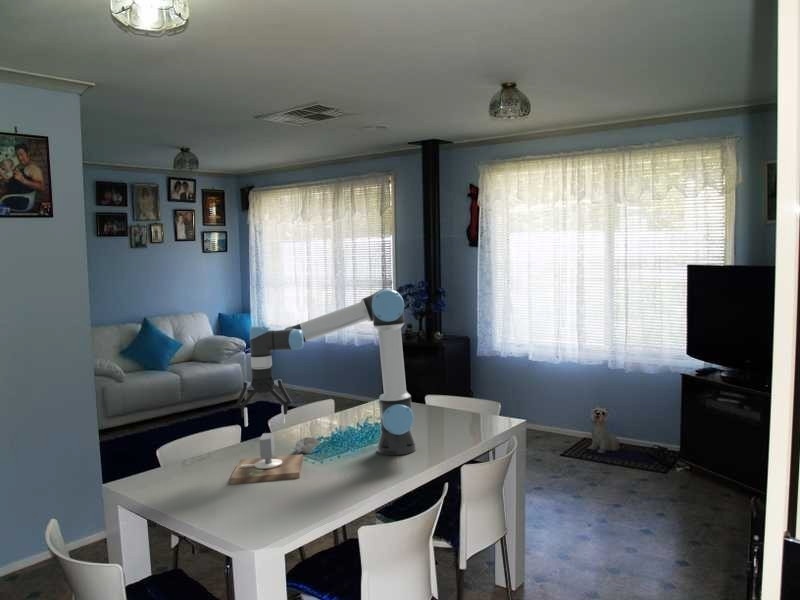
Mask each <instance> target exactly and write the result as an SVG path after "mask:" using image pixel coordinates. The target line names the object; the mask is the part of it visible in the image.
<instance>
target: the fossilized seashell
mask: <svg viewBox="0 0 800 600" xmlns="http://www.w3.org/2000/svg"><path fill="white" fill-rule="evenodd" d="M320 443H321V442H320V441H319V440H318V439H317V438H315V437H304V438H301V439H300V440H298V441H296V444H295V449H294V455H300V454H303V455H310V454H309V453H310V452H311V451H312V450H313V449H314V448H315V447H316V446H318V445H320Z"/></svg>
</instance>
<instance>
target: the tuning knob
mask: <svg viewBox="0 0 800 600" xmlns="http://www.w3.org/2000/svg"><path fill="white" fill-rule="evenodd" d="M274 435H275V434H274V432H264V433H262V435H261V437H260V438H259V451H260V453H259V455H260V458H261V459H265V460H262V461H259V462H257V463H255V464H247V465H241V467H248V466H255V467H256V468H259V469H268V468H274V467H278V466H280V465H281V464H282V460H279V459H272V457H274V454H275V451H276V450H275V449H276V448H275V447H276V446H275V436H274Z"/></svg>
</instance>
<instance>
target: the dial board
mask: <svg viewBox="0 0 800 600" xmlns="http://www.w3.org/2000/svg"><path fill="white" fill-rule="evenodd" d="M272 459H279V460H282V464H281V465H280V466H278V467H274V468H268V469H259V468H256V467H255V466H248V467H241V465H247V464H255V463H257V462H259V461H262V460H265V459H261V457H256V458H244V459H243V458H242V459H240V460H239V462H238V464H237V466H236V467H235V469H234V471H233V473H232V475H231V476H230V479H229V480H230V481H229V482H230V484H231V485H234V484H235V485H236V484H246V483H257V482H269V481H277V480H278V481H279V480H281V481H282V480H288V479H289V480H290V479H291V480H292V479H300V477H301V473H302V468H303V463H304V454H303V453H300V454H298V455H296V454H291V455H280V456H279V455H278V456H273V457H272Z"/></svg>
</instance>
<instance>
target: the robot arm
mask: <svg viewBox="0 0 800 600" xmlns="http://www.w3.org/2000/svg"><path fill="white" fill-rule="evenodd" d="M404 311H405V301H404V299H403V296H402V295H401V294H400V293H399V292H398V291H397V290H395V289H392V288H382V289H379V290H377V291H376V292H374V293H373V294H371V295H368V296H367V297H363V298H361V300H360V302H357V303H354V304H352V305H348V306H346V307H343V308H341V309H337V310H334V311H331V312H329V313H326V314H323V315H320V316H318V317H315V318H311V319H309V320H306V321H304V322H303V321H302V322H300V323H298V324H295V325H291V326H288V327H285V328H284V329H281V330H271V326H269V325H255V326H251V327H250V329H249V346H250V347H249V348H250V350H249V351H250V366H251V381H247V380H245V381H243V384H242V385H243V387H242V390H241V391H240V394H239V396H238V399H237V400H236V401H237V402H236V403H235V407H236V408H238V409H240V415H241V418H243V419H244V427H245V428H246V427H248V425H249V422H248V421H249V418H248V417H249V416H248V407H246V406H247V405H248V403H249V402H250V401H251V399H252V398H253V397H254V395H255V394H256V393H258V394H262V393H264V394H265V393H266V394H267V393H269V392H270V394H271V395H272V396H273V397H274V398H275V399H277V401H278V402H279V403H281V404H282V405H281V407H280V408H281V409H280V411H281V422H282V423H281V424H282V425H285V424H286V419H285V417H286V416H285V415H287V414H288V405H291V404H292V402H293V401H292V398H291V397H290V395H289V394H288V392H287V390H286V388H285V387H284V385H283V382H282V381H283V380H282V379H281V378H279V379H276V380H275V379H274V377H273V376H274V375H273V368H272V366H273V358H272V352H273V351H274V352H276V351H296V350H302V349H303V348H304V345H305V344H304V343H306V342H308V341H309V342H310V341H311V340H315V339H317V338H320V337H324V336H326V335H329V334H332V333H334V332H337V331H340V330H343V329H346V328H348V327H351V326H354V325H356V324H360V323H362V322H366V321H368V322H370V323H371V322H373V327H374V328H375V329H376V330H377V331H378V332H377V333H378V342H379V355H380V364H381V365H380V367H381V376H382V377H381V378H382V387H383V388H382V389H383V393H382V394H380V395H379V397H378V404H379V419H380V436H379V440H378V442H377V452H378V454H380V455H384V456H402V455H407V454H411V453H413V452H415V451H416V449H417V448H416V445H417V444H416V442H415V439H414V437H413V433H412V431H411V429H412V427H413V425H414V422H415V414H414V411H413V406H412V405H413V404H412V395H411V394H410V393H409V392H408V390H407V384H406V371H405V361H404V351H403V349H404V348H403V339H402V338H403V337H402V327H403V326H404V325H405V316H404V315H405V314H404ZM274 385H276V386H277V387H278V389H279V390H280V392H281V393H282V395H283V397H284V398H285V399H284V398H283V397H282V395H280V394H279V393H278V392H277V390H275V388H274ZM250 387H252V389H253V390H252V391H251V393H249V395H248V397H247V398H246V399H245V400H244V402H243V403H242V401H243V399H244V397H245V394H246V392H247V390H248V388H250Z"/></svg>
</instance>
